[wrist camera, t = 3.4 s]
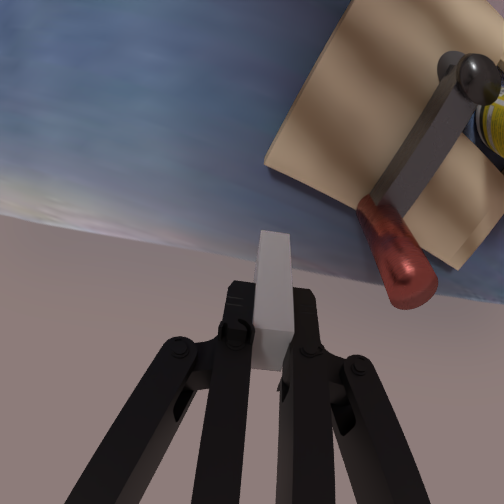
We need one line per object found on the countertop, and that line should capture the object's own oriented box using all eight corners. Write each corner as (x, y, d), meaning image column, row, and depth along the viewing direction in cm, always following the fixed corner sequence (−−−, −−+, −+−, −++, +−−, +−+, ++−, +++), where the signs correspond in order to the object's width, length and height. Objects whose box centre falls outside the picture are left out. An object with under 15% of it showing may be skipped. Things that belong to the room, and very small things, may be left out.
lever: (453, 41, 14) (540, 53, 6) (485, 72, 14) (570, 101, 7) (345, 214, 23) (374, 299, 15) (380, 233, 23) (416, 316, 16)
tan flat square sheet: (390, -64, 10) (399, -71, 9) (555, 102, 15) (568, 108, 13) (264, 157, 23) (263, 166, 21) (451, 260, 27) (459, 273, 26)
